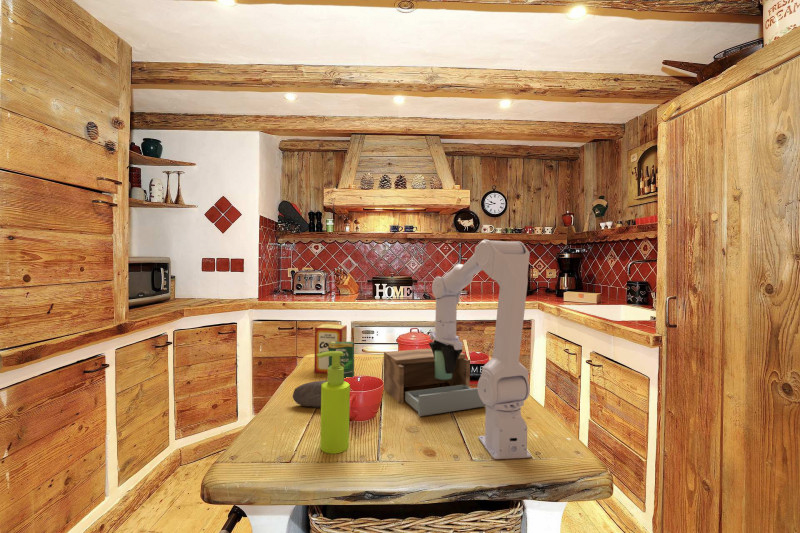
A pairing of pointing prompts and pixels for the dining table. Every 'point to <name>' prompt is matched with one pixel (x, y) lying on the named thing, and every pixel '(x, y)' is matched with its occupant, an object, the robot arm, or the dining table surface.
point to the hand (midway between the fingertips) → (444, 370)
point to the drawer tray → (443, 399)
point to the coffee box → (348, 357)
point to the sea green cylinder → (440, 366)
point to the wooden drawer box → (418, 371)
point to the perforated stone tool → (309, 394)
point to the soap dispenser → (334, 407)
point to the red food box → (327, 343)
